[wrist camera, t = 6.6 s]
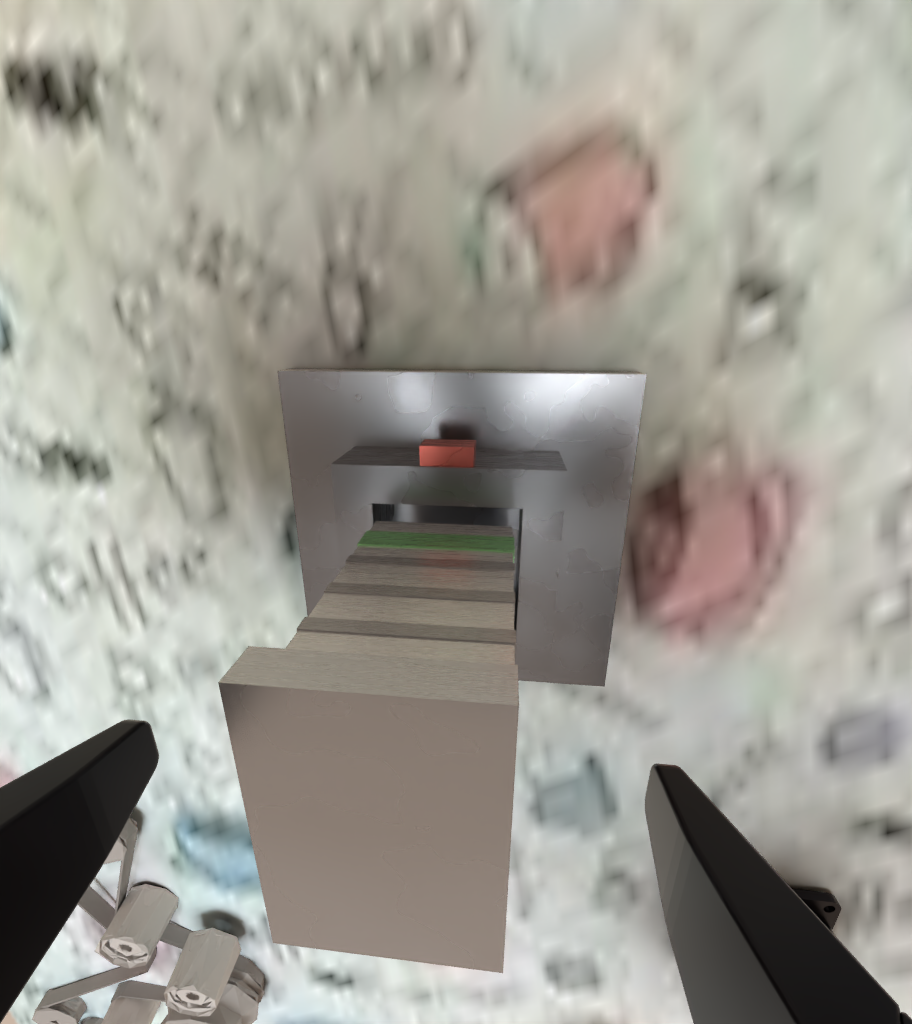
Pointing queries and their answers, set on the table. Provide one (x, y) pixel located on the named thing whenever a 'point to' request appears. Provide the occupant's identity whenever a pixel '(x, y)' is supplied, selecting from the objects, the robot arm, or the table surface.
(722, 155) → the table surface
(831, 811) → the table surface
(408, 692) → the grey slab
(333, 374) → the stand base
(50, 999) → the pulley system
